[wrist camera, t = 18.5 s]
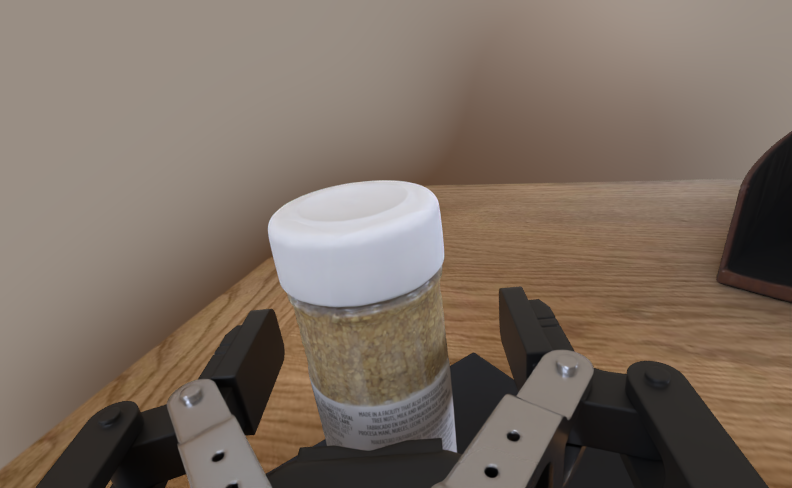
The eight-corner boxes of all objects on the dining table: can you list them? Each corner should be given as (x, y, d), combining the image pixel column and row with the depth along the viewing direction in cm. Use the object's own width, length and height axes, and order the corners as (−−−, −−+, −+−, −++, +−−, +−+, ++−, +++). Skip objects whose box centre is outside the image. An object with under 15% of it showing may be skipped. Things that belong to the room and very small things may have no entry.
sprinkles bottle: (448, 465, 19) (419, 166, 14) (483, 578, 15) (462, 213, 9) (345, 489, 19) (272, 190, 13) (352, 611, 14) (250, 249, 9)
